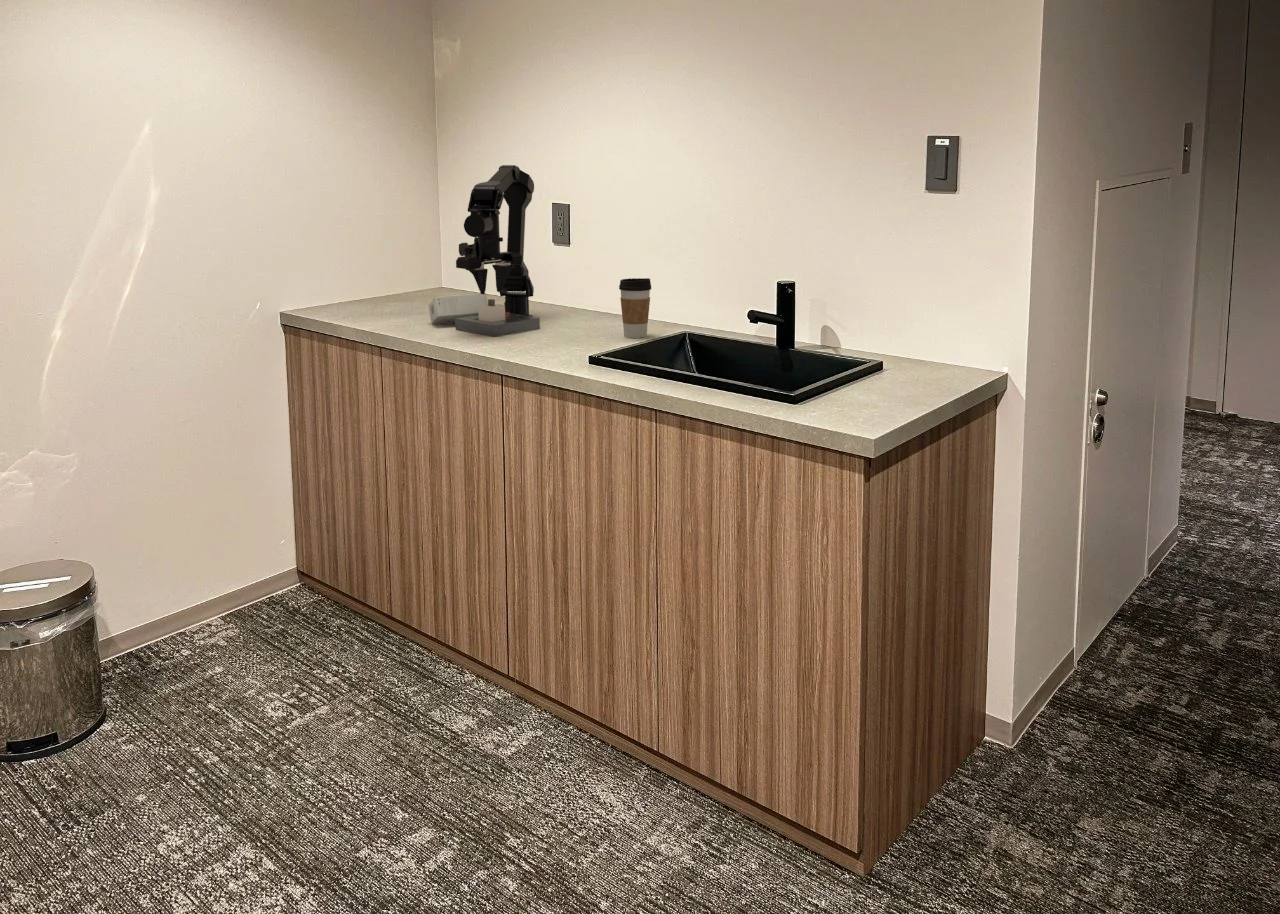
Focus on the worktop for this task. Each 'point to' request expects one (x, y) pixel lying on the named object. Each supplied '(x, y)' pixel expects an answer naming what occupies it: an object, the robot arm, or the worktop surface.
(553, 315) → the worktop surface
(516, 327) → the socket plate
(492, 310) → the plug
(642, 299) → the coffee cup
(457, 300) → the skincare box
